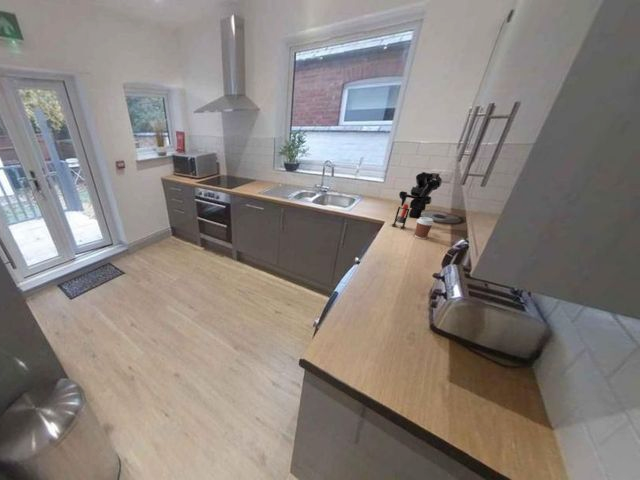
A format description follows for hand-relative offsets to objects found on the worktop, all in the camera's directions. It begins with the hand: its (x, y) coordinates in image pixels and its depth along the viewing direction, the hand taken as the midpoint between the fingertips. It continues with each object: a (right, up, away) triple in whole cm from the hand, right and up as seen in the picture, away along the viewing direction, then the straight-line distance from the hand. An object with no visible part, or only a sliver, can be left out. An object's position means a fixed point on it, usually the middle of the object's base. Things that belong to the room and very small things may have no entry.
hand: (408, 207), depth 173 cm
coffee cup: (-2, -20, -13) cm, 24 cm away
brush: (-7, -10, -1) cm, 12 cm away
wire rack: (-7, -13, 0) cm, 15 cm away
